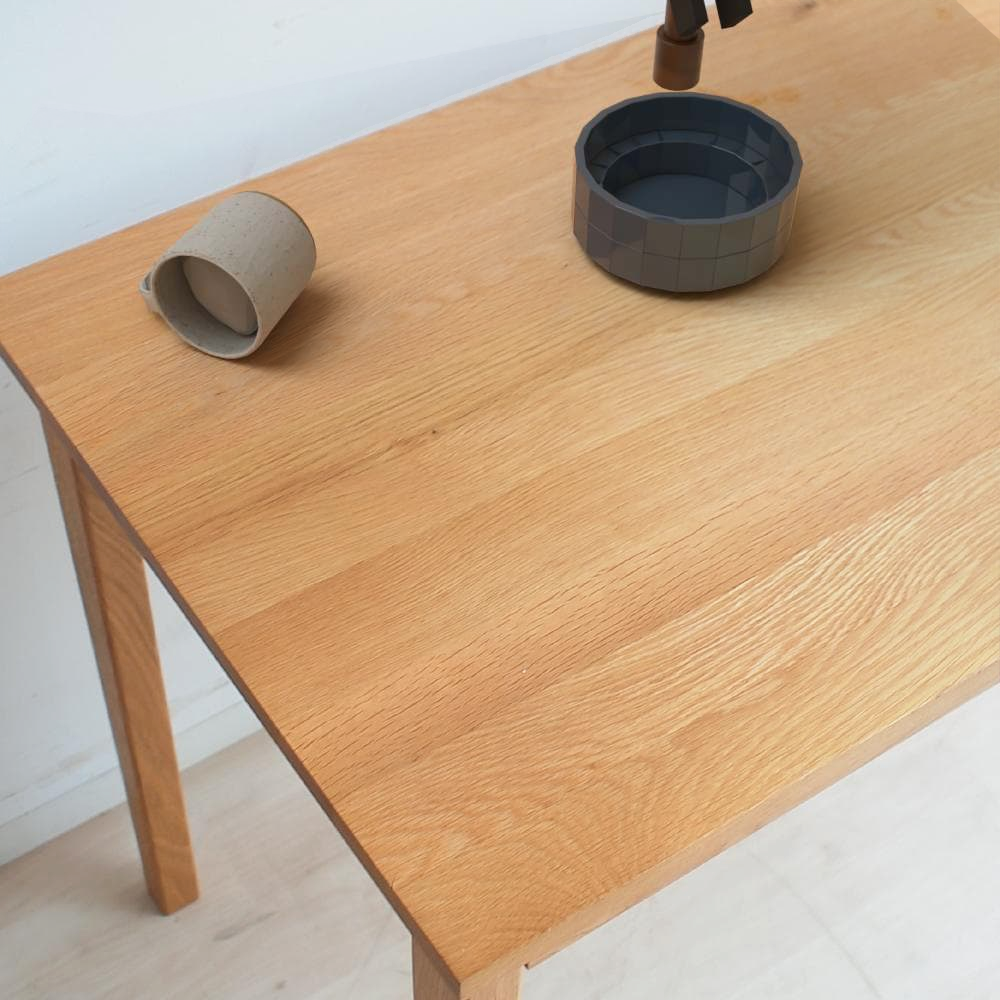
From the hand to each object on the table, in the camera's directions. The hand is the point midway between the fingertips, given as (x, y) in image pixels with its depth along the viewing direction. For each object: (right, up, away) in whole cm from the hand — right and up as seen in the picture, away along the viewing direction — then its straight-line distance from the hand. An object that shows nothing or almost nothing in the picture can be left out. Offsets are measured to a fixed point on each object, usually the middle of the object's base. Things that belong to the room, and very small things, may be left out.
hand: (715, 24), depth 80 cm
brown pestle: (-1, -1, +7) cm, 7 cm away
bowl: (0, -8, +16) cm, 18 cm away
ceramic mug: (-29, -15, +10) cm, 34 cm away
